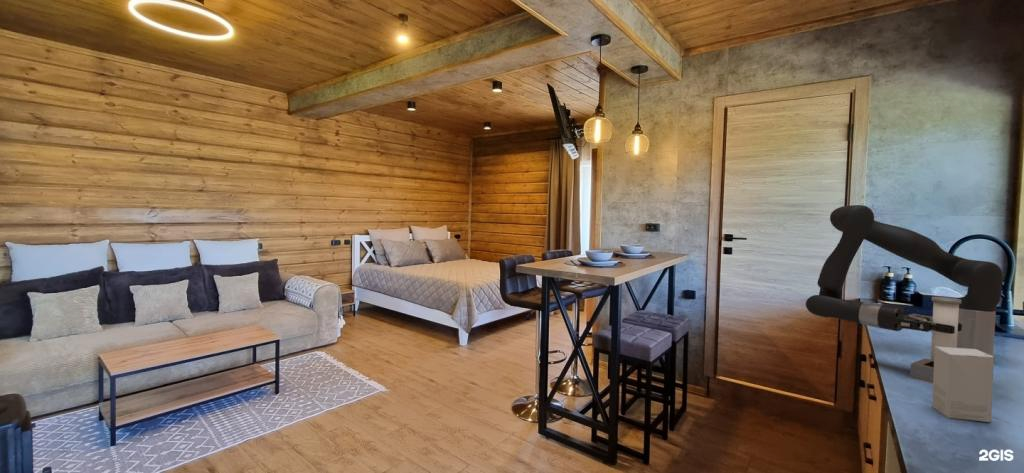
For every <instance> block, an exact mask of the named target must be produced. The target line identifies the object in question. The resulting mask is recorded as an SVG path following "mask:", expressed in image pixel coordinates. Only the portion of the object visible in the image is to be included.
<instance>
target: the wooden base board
mask: <svg viewBox="0 0 1024 473" xmlns="http://www.w3.org/2000/svg"><path fill="white" fill-rule="evenodd" d="M930 359H931V358H926V357H924V358H922V359H920V360H917V361H914V362H912V363H910V374H909V376H908V378H909V379H913V380H916V381H921V382H924V383H928V384H932V385H933V375H934V361H931V360H930Z"/></svg>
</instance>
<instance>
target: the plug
mask: <svg viewBox="0 0 1024 473" xmlns="http://www.w3.org/2000/svg"><path fill="white" fill-rule="evenodd" d="M931 301H932V302H933V307H932V317H933V322H934V323H935V324H936V323H939V324H945V325H952V326H954V327H955V333H954V334H949V333H943V332H937V331H933V332H931V342H930V344H931V345H930V358H929V359H930V360H931V361H934V352H935V346H937V347H951V348H957V331H958V313H959V304H961V300H960V299H957V298H955V297H947V296H931Z"/></svg>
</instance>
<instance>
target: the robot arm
mask: <svg viewBox="0 0 1024 473" xmlns="http://www.w3.org/2000/svg"><path fill="white" fill-rule="evenodd" d="M829 221H830V223H831V225H832V226H833V227H834V228H835V229H836V230H837V231H839V232H842V233H841V237H840V240H839V241H838V243H837V245H836V247H834V249H833V251H831V253H830V255H828V257H827V258H826V260H825V262H824V263H823V266H822V267H821V271H820V273H819V276H818V279H817V283H816V284H817V286H818V288H819V293H818V294H814V295H811V296H810V297H808V298H807V299H806V301H805V307H806V310H807V311H808V312H809V313H810V314H813V315H814V316H818V317H822V318H828V319H829V318H834V319H839V320H842V321H847V322H851V323H855V324H859V325H864V326H865V325H866V326H868V327H871V328H872V327H873V328H878V329H883V330H888V331H893V332H901V331H902V330H903V329H905V330H912V331H920V332H925V333H928V332H931V333H932V332H933V331H937V332H943V333H949V334H954V333H955V327H954V326H952V325H945V324H939V323H936V324H935V323H934V322H933V316H932V315H925V314H923V313H922V314H921V313H920V314H918V313H910V314H906V312H905V309H904V308H903V307H902V306H897V305H891V304H884V303H878V302H865V301H858V300H852V299H851V300H850V299H842V288H843V287H844V284H845V281H846V277H847V275H848V273H849V269H850V267H851V264H852V262H853V261H854V258H855V257H856V254H857V253H858V251H859V249H860V247H861V245H862V243H863V242H864V241H867V242H869V243H871V244H873V245H875V246H877V247H879V248H880V249H883V250H885V251H888V252H889V253H892V254H893V255H896V256H897V257H900V258H902V259H904V260H907V261H908V262H911V263H914V264H916V265H919V266H920V267H923V268H927V269H929V270H932V271H933V272H934V271H935V272H936V273H938V274H940V275H942V276H943V277H944V278H946V279H948V280H950V281H952V282H953V283H955V284H957V285H960V286H962V287H965V288H967V292H966V294H965V295H964V296H961V297H960V296H959V297H957V298H956V299H960V300H961V304H959V313H958V331H957V348H967V349H977V350H979V351H981V352H984V353H986V354H989V355H991V356H993V357H994V345H995V344H994V343H995V333H996V328H995V327H996V316H997V315H996V312H997V306H998V304H999V303H1000V301H1001V296H1002V290H1003V284H1004V274H1003V270H1002V268H1001V267H1000V266H999V265H998V264H997V263H995V262H991V261H986V260H975V259H969V258H964V257H961V256H958V255H954V254H952V253H950V252H947V251H945V250H944V249H942V247H940V245H939V244H938V243H937V242H936V241H935V240H933V239H931V238H929V237H927V236H926V235H923V234H921V233H919V232H917V231H913V230H911V229H908V228H905V227H901V226H897V225H892V224H888V223H884V222H880V221H877V220H876V219H875V215H874V212H873V210H872V209H871V208H870V207H868V206H867V205H862V204H856V205H855V204H853V205H852V204H851V205H844V206H840V207H837V208H836V209H834V210H833V211H831V213H830V217H829Z"/></svg>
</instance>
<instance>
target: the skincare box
mask: <svg viewBox="0 0 1024 473" xmlns="http://www.w3.org/2000/svg"><path fill="white" fill-rule="evenodd" d="M995 358H996V357H995V356H994V355H993V356H991V355H989V354H986V353H984V352H981V351H979V350H977V349H967V348H951V347H937V346H935V352H934V375H933V384H932V401H931V403H932V404H931V407H932V408H933V409H935V410H936V411H938V412H939V413H940V414H941V415H943V416H945V417H946V418H948V419H957V420H965V421H966V420H967V421H976V422H985V423H991V422H992V408H993V385H994V384H993V383H994V370H995V369H994V367H995Z"/></svg>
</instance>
